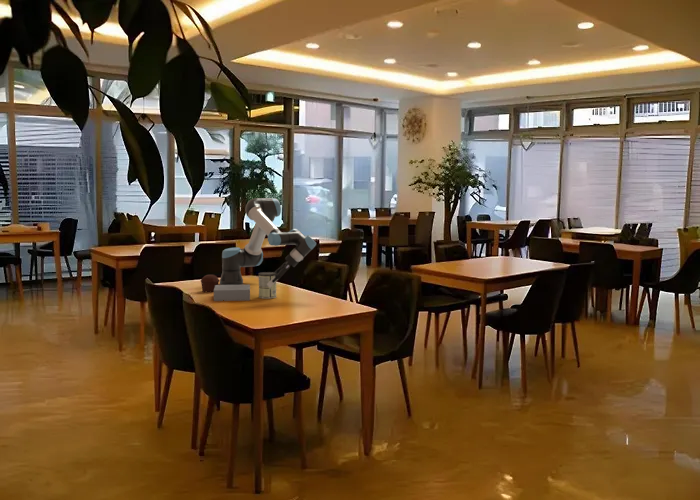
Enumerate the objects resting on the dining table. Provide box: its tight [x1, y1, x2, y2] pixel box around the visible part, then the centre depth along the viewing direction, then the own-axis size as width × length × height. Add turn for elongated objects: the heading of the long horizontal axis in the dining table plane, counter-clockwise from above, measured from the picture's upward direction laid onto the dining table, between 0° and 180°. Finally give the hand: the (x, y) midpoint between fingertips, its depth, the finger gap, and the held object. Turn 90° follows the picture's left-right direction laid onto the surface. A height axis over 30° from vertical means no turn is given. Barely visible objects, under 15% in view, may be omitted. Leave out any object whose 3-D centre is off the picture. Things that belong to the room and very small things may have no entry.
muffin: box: [200, 274, 220, 293], centre depth 404 cm, size 12×11×10 cm
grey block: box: [213, 284, 251, 302], centre depth 381 cm, size 20×20×6 cm
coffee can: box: [258, 271, 277, 300], centre depth 384 cm, size 10×10×14 cm
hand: (267, 284), depth 383 cm, fingers open, 13 cm apart
